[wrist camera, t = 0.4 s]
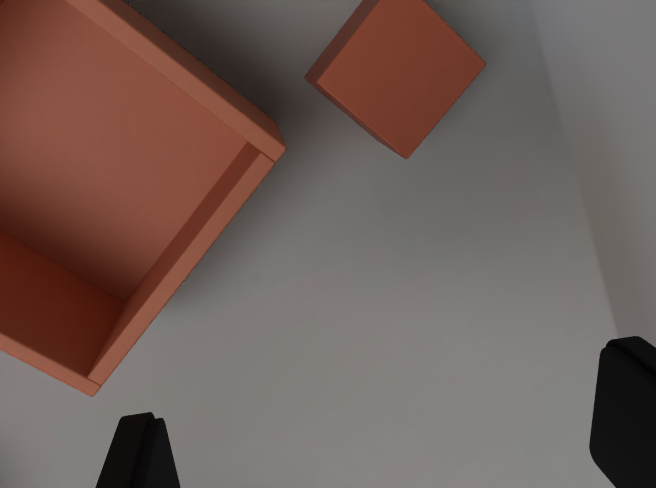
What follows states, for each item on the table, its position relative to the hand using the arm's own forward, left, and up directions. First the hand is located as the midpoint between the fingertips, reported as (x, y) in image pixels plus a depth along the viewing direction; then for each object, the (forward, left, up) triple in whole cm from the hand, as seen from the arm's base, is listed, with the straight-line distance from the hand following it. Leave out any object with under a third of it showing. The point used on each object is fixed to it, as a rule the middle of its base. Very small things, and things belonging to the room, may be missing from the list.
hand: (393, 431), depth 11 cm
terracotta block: (-7, -2, -14) cm, 16 cm away
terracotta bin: (+3, -10, -14) cm, 18 cm away
